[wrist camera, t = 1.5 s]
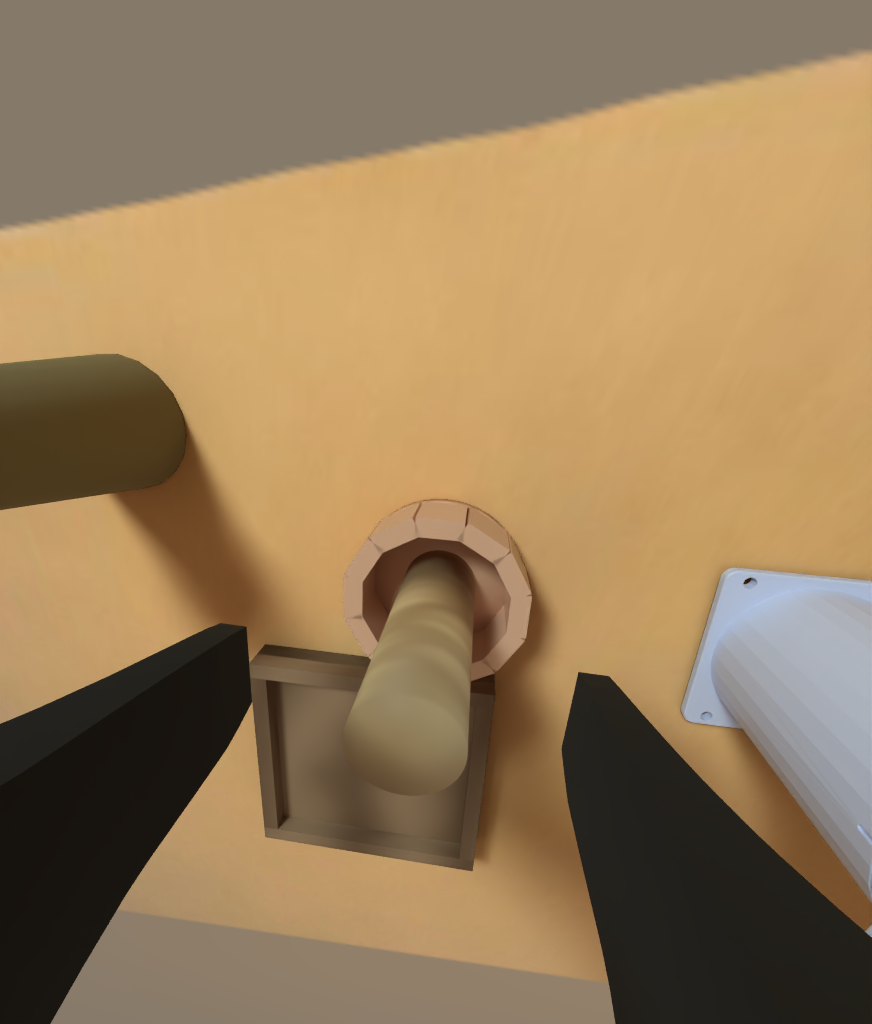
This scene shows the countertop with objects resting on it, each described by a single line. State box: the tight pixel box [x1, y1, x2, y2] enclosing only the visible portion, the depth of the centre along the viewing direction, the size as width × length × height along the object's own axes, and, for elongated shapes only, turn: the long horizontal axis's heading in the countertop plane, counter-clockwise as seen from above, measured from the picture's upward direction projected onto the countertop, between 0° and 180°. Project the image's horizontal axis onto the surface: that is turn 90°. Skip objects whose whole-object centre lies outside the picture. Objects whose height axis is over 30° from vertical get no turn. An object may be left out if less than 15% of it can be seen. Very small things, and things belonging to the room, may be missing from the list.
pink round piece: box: [343, 499, 532, 681], centre depth 18 cm, size 8×8×3 cm
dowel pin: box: [342, 550, 475, 796], centre depth 15 cm, size 3×3×9 cm
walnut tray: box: [249, 644, 495, 871], centre depth 22 cm, size 12×12×2 cm
